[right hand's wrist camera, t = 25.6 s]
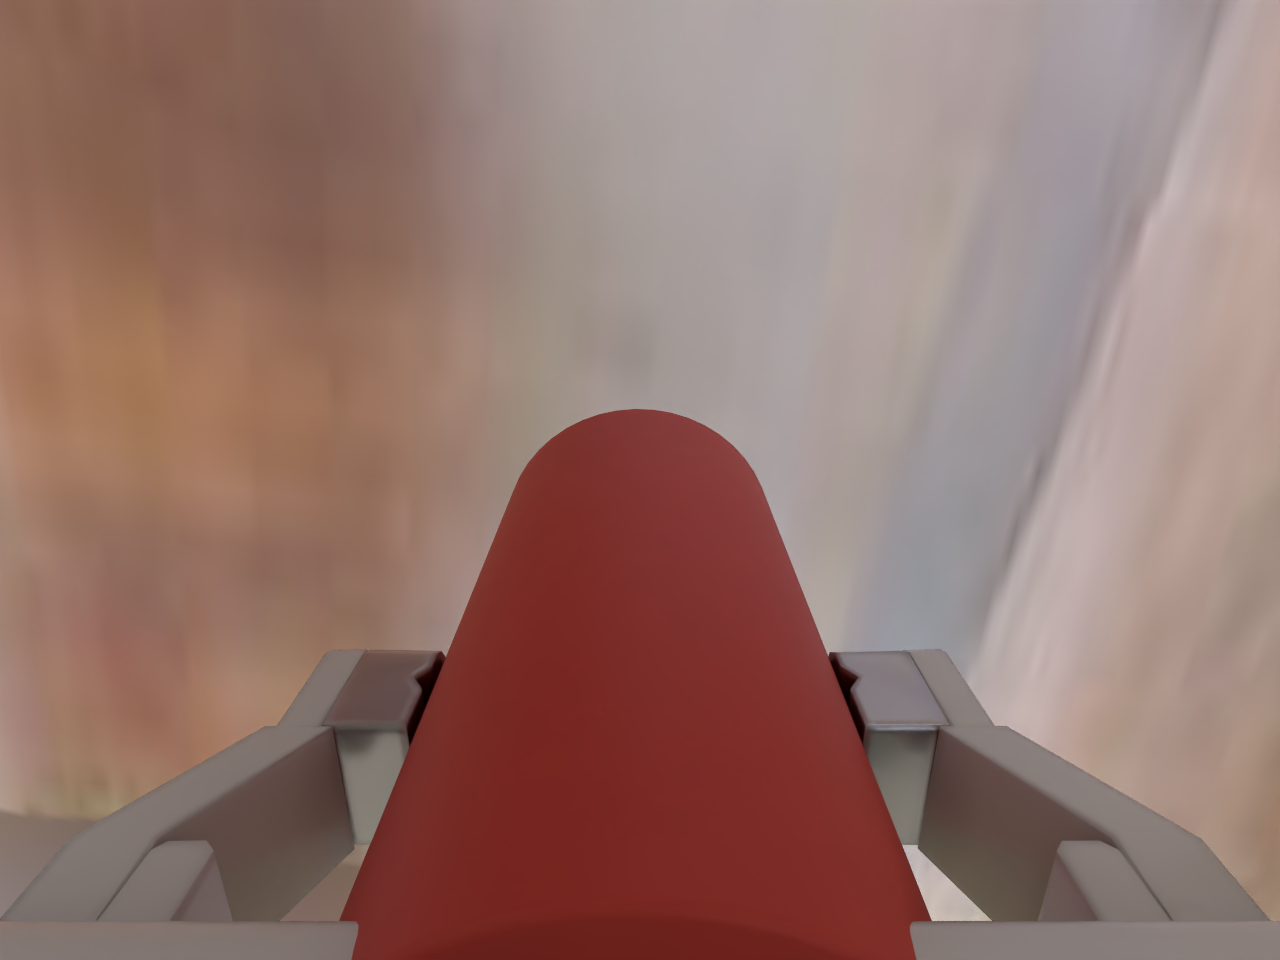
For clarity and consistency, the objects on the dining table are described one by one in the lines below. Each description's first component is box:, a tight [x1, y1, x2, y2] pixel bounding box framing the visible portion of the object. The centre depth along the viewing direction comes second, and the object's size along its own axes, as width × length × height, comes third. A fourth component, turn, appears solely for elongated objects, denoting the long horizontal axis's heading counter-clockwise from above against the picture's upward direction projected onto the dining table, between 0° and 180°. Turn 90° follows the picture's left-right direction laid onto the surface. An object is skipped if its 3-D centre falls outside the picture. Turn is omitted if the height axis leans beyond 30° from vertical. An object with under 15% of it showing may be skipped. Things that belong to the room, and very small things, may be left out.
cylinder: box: [339, 409, 932, 960], centre depth 10 cm, size 5×5×10 cm
